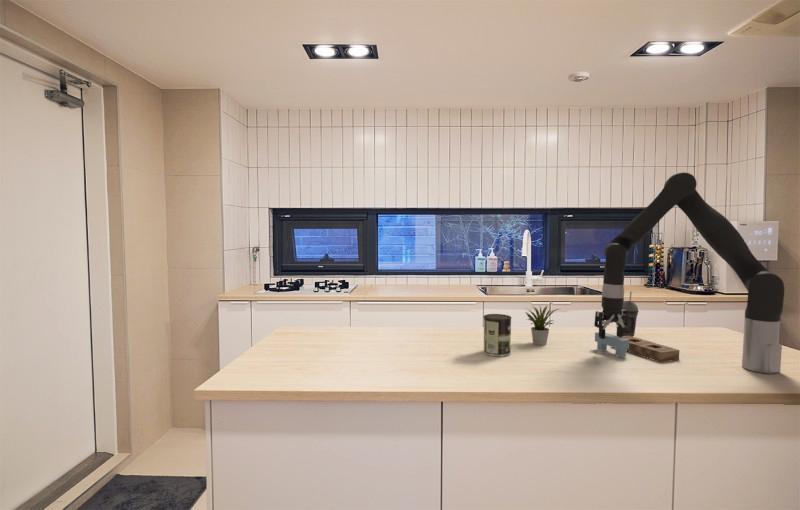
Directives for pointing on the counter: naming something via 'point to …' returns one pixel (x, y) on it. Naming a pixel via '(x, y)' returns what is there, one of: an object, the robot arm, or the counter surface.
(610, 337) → the grey bridge block
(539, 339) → the house plant
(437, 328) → the counter surface
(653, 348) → the brown wooden slab
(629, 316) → the beverage cup
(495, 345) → the coffee can
